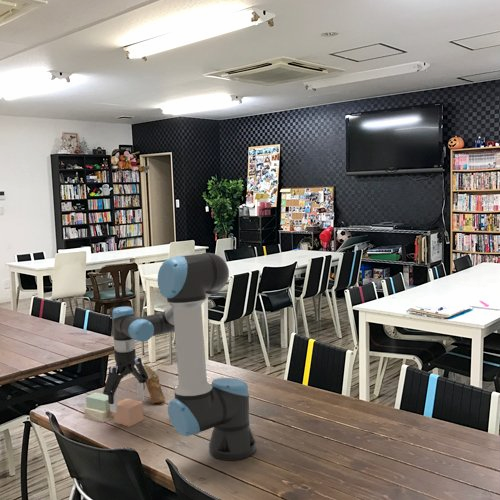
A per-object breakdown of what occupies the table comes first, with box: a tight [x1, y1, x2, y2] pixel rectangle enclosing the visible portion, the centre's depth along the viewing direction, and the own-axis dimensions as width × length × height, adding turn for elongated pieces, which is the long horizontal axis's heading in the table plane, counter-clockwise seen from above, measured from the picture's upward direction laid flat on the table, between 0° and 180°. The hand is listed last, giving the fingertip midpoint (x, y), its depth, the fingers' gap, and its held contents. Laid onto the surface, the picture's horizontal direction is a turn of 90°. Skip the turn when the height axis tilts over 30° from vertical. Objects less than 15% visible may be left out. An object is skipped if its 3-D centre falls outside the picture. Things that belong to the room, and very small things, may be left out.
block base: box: [83, 406, 114, 423], centre depth 218 cm, size 8×10×4 cm
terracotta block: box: [113, 397, 145, 428], centre depth 212 cm, size 7×8×7 cm
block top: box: [85, 391, 110, 411], centre depth 217 cm, size 5×10×4 cm, turn 59°
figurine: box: [143, 364, 166, 404], centre depth 230 cm, size 8×8×15 cm
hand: (127, 405), depth 212 cm, fingers open, 13 cm apart
